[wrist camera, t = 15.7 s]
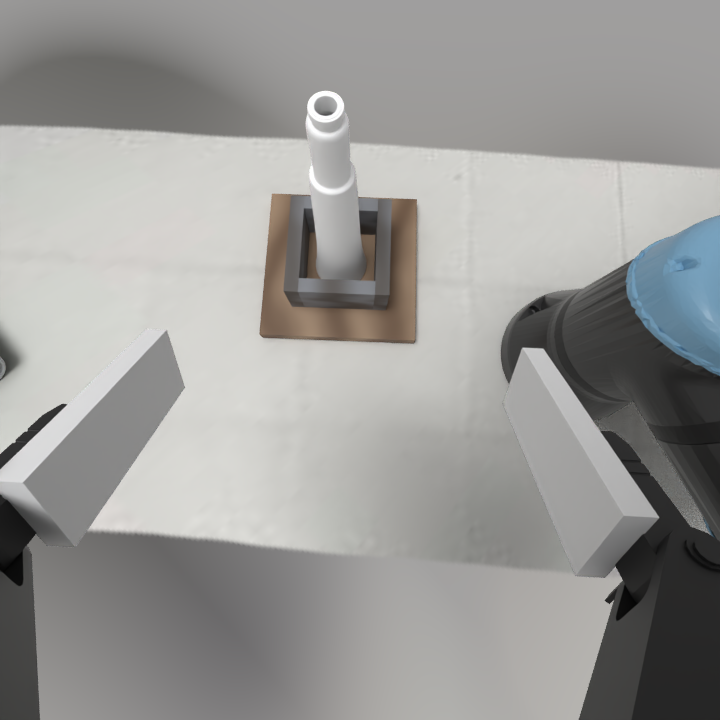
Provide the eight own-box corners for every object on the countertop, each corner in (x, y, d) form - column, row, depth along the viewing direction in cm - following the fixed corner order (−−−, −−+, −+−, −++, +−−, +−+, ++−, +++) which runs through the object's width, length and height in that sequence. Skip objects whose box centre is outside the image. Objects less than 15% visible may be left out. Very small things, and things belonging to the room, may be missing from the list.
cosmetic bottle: (359, 294, 43) (361, 160, 21) (310, 281, 43) (262, 137, 21) (371, 248, 44) (386, 75, 22) (323, 236, 44) (291, 53, 22)
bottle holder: (414, 206, 46) (424, 171, 40) (413, 343, 43) (422, 329, 37) (274, 201, 46) (261, 165, 40) (262, 337, 43) (246, 322, 37)
